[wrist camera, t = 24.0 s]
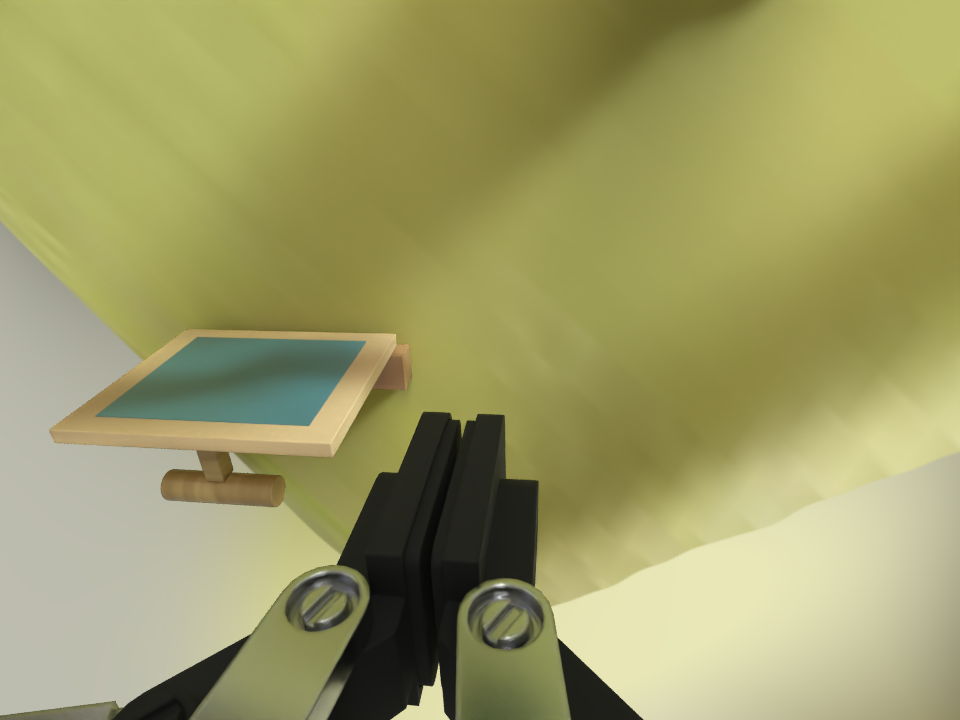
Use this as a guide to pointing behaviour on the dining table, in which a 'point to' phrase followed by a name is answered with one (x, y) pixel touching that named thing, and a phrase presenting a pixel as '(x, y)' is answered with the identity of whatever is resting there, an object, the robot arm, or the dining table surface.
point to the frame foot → (396, 370)
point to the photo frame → (235, 405)
